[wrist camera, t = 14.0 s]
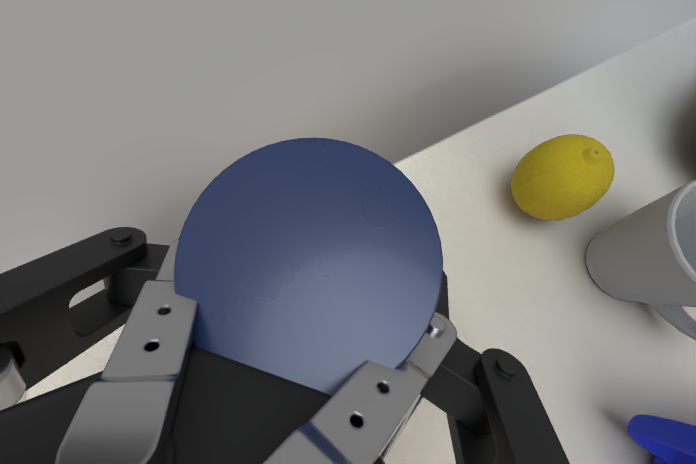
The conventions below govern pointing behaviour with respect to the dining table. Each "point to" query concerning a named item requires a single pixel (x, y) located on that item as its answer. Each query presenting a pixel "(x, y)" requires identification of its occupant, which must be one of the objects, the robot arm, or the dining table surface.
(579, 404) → the dining table surface
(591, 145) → the lemon
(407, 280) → the lid
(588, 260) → the cup
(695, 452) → the mug
